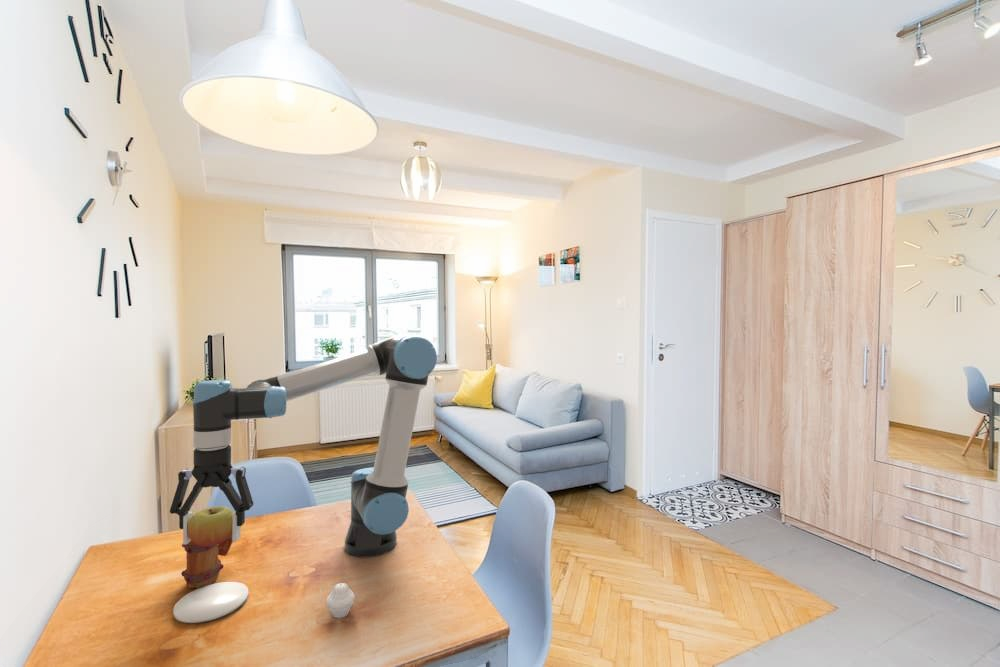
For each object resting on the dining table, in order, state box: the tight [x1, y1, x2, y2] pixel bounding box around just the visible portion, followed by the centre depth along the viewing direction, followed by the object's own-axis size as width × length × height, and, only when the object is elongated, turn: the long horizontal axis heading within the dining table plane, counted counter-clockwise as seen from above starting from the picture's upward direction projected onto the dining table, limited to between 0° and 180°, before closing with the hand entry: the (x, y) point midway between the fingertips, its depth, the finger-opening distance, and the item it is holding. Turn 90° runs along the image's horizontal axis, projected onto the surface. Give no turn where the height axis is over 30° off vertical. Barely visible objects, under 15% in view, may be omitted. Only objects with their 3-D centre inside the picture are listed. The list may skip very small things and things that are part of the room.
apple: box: [188, 505, 235, 546], centre depth 108 cm, size 10×10×8 cm
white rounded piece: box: [326, 582, 356, 619], centre depth 105 cm, size 6×6×7 cm
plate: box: [173, 581, 249, 624], centre depth 108 cm, size 15×15×1 cm
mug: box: [181, 535, 233, 589], centre depth 120 cm, size 15×8×15 cm, turn 168°
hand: (212, 540), depth 108 cm, fingers closed on apple, 10 cm apart
